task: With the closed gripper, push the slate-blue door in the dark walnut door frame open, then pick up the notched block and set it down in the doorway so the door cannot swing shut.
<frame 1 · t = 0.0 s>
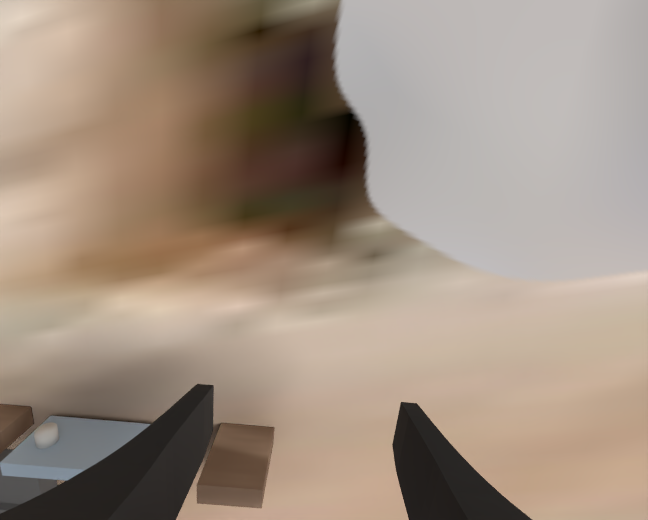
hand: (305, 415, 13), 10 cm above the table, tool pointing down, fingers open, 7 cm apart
notched block: (35, 504, 27), on the table
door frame: (127, 423, 25), on the table
door leaf: (110, 444, 23), point 2 cm above the table, hinge at 0.0°
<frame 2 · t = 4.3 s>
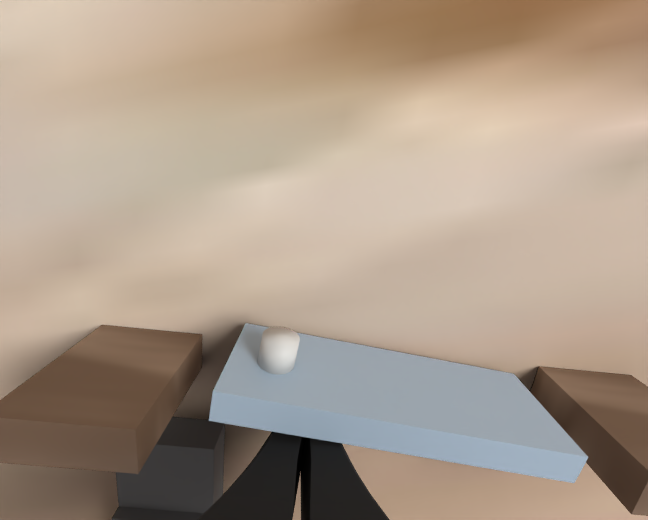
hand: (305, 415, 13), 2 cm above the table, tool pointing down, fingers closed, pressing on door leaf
notched block: (181, 509, 16), on the table
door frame: (370, 366, 14), on the table
door leaf: (393, 380, 11), point 2 cm above the table, hinge at 5.9°, touching gripper
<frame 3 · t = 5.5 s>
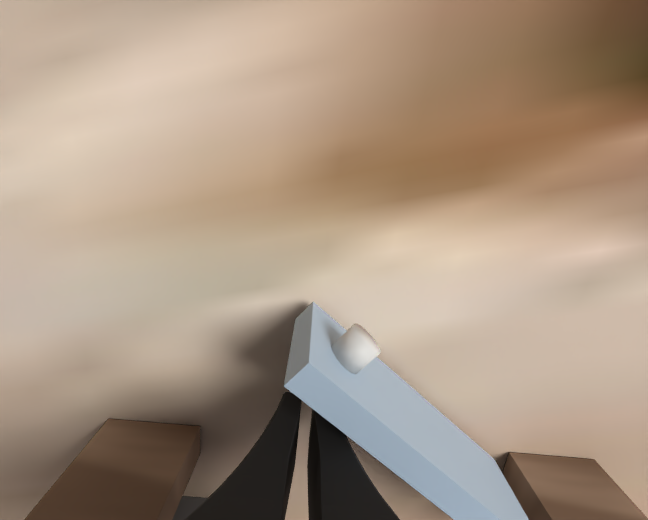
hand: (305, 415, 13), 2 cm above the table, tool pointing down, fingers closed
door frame: (354, 452, 15), on the table
door leaf: (425, 423, 12), point 2 cm above the table, hinge at 37.6°, touching gripper
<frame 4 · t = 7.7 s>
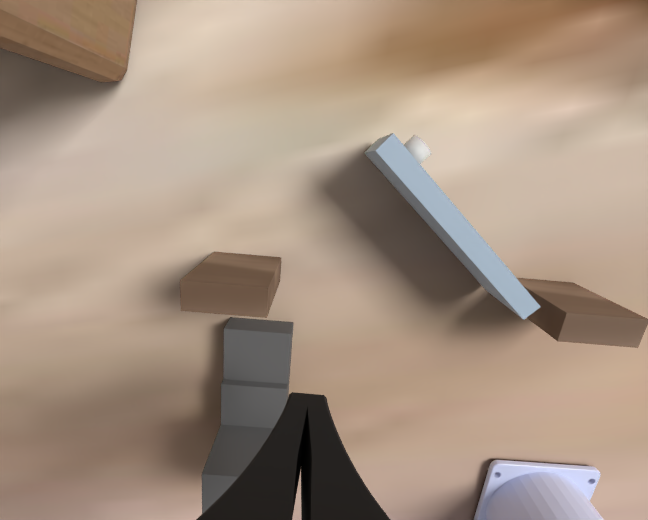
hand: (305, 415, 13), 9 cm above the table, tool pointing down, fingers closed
notched block: (259, 392, 23), on the table
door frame: (394, 279, 20), on the table
door leaf: (455, 219, 17), point 2 cm above the table, hinge at 40.8°
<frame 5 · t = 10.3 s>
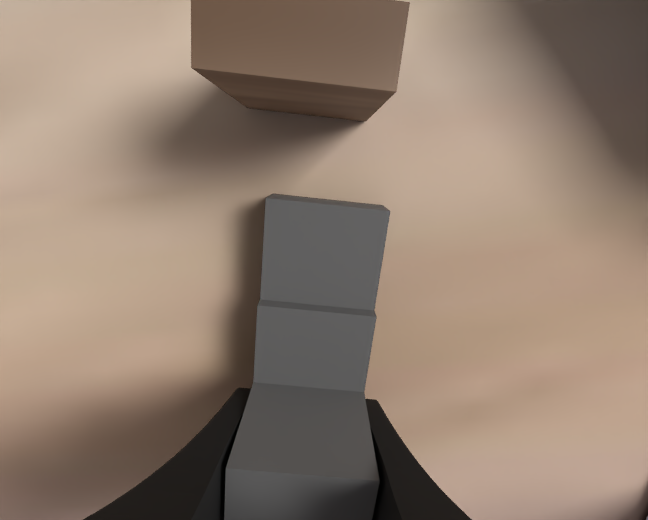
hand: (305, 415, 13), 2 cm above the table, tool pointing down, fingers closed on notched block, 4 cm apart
notched block: (313, 334, 14), on the table, touching gripper
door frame: (572, 120, 11), on the table
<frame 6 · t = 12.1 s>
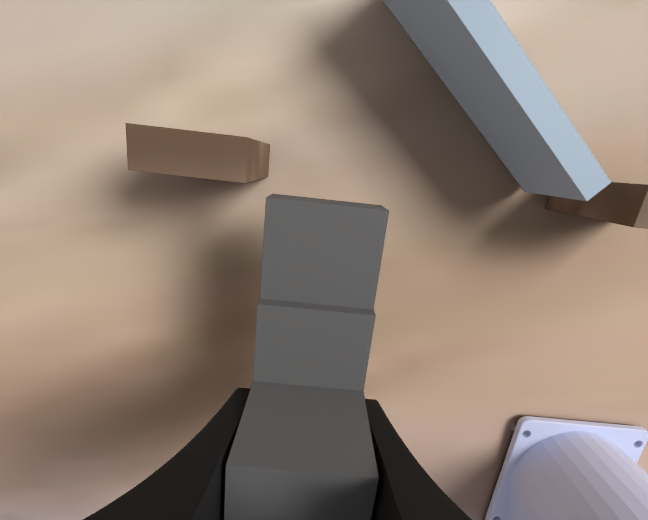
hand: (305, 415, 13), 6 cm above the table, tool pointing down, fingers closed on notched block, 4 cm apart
notched block: (312, 334, 14), point 5 cm above the table, touching gripper
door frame: (411, 177, 16), on the table
door leaf: (497, 72, 13), point 2 cm above the table, hinge at 40.8°
when the fingers open (2 cm above the table, at t = 13.8 s): notched block stays where it is, on the table.
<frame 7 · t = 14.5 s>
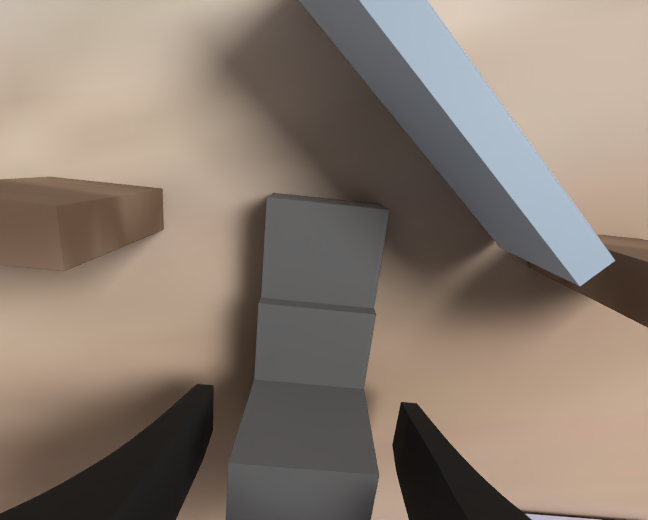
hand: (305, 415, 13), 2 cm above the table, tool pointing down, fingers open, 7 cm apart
notched block: (313, 332, 14), on the table
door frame: (351, 228, 13), on the table
door leaf: (451, 98, 9), point 2 cm above the table, hinge at 40.8°
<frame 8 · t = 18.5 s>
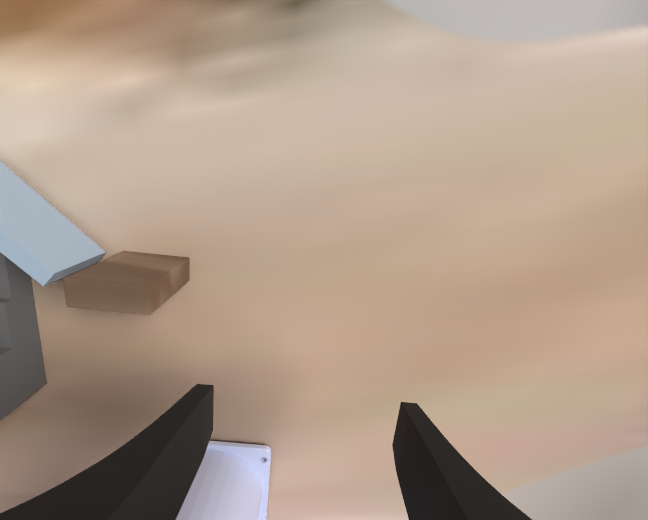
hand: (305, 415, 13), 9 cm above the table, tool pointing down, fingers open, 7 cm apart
notched block: (5, 315, 22), on the table
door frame: (9, 251, 21), on the table
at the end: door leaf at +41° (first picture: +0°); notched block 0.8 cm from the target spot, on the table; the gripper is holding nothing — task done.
